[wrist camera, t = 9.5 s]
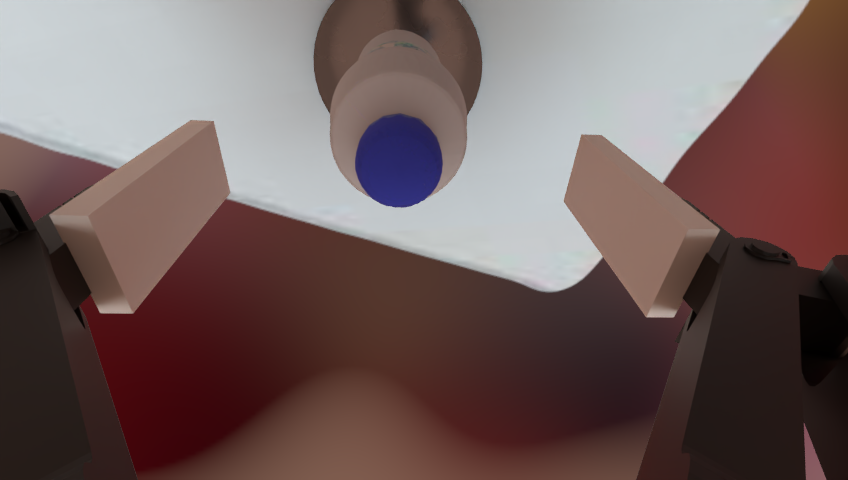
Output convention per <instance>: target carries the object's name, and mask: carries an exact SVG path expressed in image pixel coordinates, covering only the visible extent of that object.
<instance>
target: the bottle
mask: <svg viewBox="0 0 848 480" xmlns="http://www.w3.org/2000/svg"><path fill="white" fill-rule="evenodd" d="M330 123H331V126H330V142H331V148H332V153H333V157H334V159H335V161H336V164H337V166H338V168H339V169H340V171H341V173H342V174H343V175H344V176H345V178H346V179H347V180H348V181H349V182H350V183H351V184H352V185H353V186H354V187H355V188H356V189H357V190H359V191H361V192H362V193H364V194H365V195H367V196H369V197H371V198H372V199H374V200H375V201H377V202H379V203H381V204H383V205H386V206H392V207H409V206H412V205H414V204H418V203H419V202H421V201H423V200H425V199H426V198H428V197H429V196H431V195H433V194H435V193H437V192H438V191H439V190H441V189H442V188H443V187H444V186H446V185H447V184H448V183H449V181H450V180H451V179H452V178H453V177H454V176H455V174H456V172H457V171H458V169H459V167H460V165H461V163H462V161H463V158H464V155H465V150H466V143H467V128H466V127H467V110H466V104H465V100H464V97H463V94H462V91H461V89H460V87H459V85H458V83H457V82H456V80H455V79H454V77H453V76H452V75H451V74H450V72H449V71H448V70H447V69H446V68H445V67H444V66H443V65H442V64H441V63H440V60H439V57H438V55H437V54H436V52H435V50H434V49H433V48H432V46H431V45H430V44H429V43H428V41H426V40H425V39H424V38H422V37H421V36H419V35H417V34H415V33H413V32H409V31H406V30H397V29H395V30H390V31H387V32H384V33H382V34H380V35H378V36H376V37H375V38H373V39H372V40H371V41H370V42H369V43H368V44H367V45H366V46H365V47H364V49H363V50H362V52H361V54H360V56H359V59H358V61H357V62H356V63H355V64H354V65H352V66H351V67H350V68H349V69H348V70H347V71H346V73H345V74H344V75H343V77H342V78H341V80H340V81H339V83H338V85H337V87H336V89H335V92H334V95H333V97H332V103H331V109H330Z"/></svg>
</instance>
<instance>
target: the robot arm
mask: <svg viewBox="0 0 848 480" xmlns="http://www.w3.org/2000/svg"><path fill="white" fill-rule="evenodd" d="M229 194H230V189H229V185H228V181H227V176H226V172H225V168H224V164H223V159H222V155H221V151H220V147H219V142H218V138H217V134H216V130H215V125H214V121H197V120H190V121H189V122H187V123H186V124H184V125H183V126H181V127H180V128H178V129H177V130H175V131H174V132H172V133H171V134H169V135H168V136H166V137H165V138H163V139H162V140H160V141H159V142H157V143H156V144H154V145H153V146H151V147H150V148H148V149H147V150H145V151H144V152H142V153H141V154H140V155H138V156H137V157H135V158H134V159H132V160H131V161H129V162H128V163H126V164H125V165H123V166H122V167H120V168H119V169H117V170H116V171H114V172H113V173H111V174H110V175H108V176H107V177H105V178H104V179H102V180H101V181H99V182H98V183H96V184H94V185H92V186H90V187H87V188H86V189H84V190H83V191H81V192H80V193H78V194H76V195H75V196H74V198H70V199H69V200H67V201H66V202H64V203H63V206H58V207H57V208H55V209H54V210H52V211H51V212H49V213H48V214H46V215H45V216H43V217H42V218H40V219H39V220H37V221H36V222H34V223H33V221H32V220H31V218H30V216H29V214H28V212H27V211H26V209H25V207H24V205H23V203H22V201H21V200H20V198H19V196H18V195H17V194H16V193H15V192H14V191H9V190H0V480H138V479H137V476H136V473H135V470H134V467H133V463H132V461H131V457H130V454H129V451H128V448H127V445H126V441H125V438H124V435H123V432H122V429H121V426H120V423H119V420H118V416H117V413H116V410H115V407H114V404H113V401H112V398H111V395H110V391H109V388H108V385H107V382H106V379H105V376H104V373H103V369H102V366H101V364H100V360H99V357H98V354H97V351H96V348H95V344H94V341H93V338H92V335H91V332H90V329H89V326H88V323H87V319H86V317H85V315H84V313H83V311H82V309H81V308H80V306H79V305H80V304H81V303H82V302H83V301H84V300H85V299H86V298H87V297H88V296H89V295H90V294H91V296H92V298H93V300H94V302H95V304H96V306H97V307H98V309H99V311H100V313H134V311H135V310H136V309H137V308H138V306H139V305H140V304H141V303H142V301H143V300H144V299H145V298H146V297H147V295H148V294H149V293H150V292H151V290H152V289H153V288H154V287H155V285H156V284H157V283H158V281H159V280H160V279H161V278H162V277H163V275H164V274H165V273H166V272H167V271H168V269H169V268H170V267H171V265H172V264H173V263H174V262H175V261H176V259H177V258H178V257H179V256H180V254H181V253H182V252H183V251H184V249H185V248H186V247H187V246H188V245H189V243H190V242H191V241H192V240H193V238H194V237H195V236H196V234H197V233H198V232H199V231H200V230H201V228H202V227H203V226H204V225H205V223H206V222H207V221H208V220H209V218H210V217H211V215H213V214H214V212H215V211H216V210H217V208H218V207H219V206H220V205H221V204H222V202H223V201H224V200H225V199H226V197H227V196H228V195H229ZM564 203H565V204H566V205H567V207H568V208H569V210H570V211H571V212H572V214H573V215H574V217H575V218H576V219H577V221H578V222H579V224H580V225H581V226H582V228H583V229H584V231H585V232H586V233H587V235H588V236H589V238H590V239H591V240H592V242H593V243H594V245H595V246H596V247H597V249H598V250H599V252H600V253H601V254H602V256H603V257H604V259H605V260H606V261H607V263H608V264H609V266H610V267H611V268H612V269H613V271H614V273H615V274H616V275H617V277H618V278H619V279H620V281H621V282H622V284H623V285H624V286H625V288H626V289H627V291H628V292H629V294H630V295H631V296H632V298H633V299H634V301H635V302H636V303H637V305H638V306H639V308H640V309H641V310H642V312H643V313H644V315H645V316H646V317H674V316H675V314H676V312H677V310H678V308H679V307H680V305H681V303H682V301H683V299H684V300H685V301H686V302H687V304H688V305H689V306H690V307H691V308H692V309H693V310H692V311H691V313H690V315H689V317H688V319H687V320H686V322H685V324H684V326H683V328H682V330H681V331H680V333H679V335H678V337H677V338H676V340H675V342H677V343H679V345H678V349H677V352H676V355H675V358H674V362H673V365H672V368H671V371H670V374H669V377H668V381H667V384H666V387H665V390H664V393H663V396H662V399H661V403H660V406H659V409H658V412H657V415H656V418H655V422H654V425H653V428H652V431H651V434H650V437H649V441H648V444H647V447H646V451H645V453H644V457H643V460H642V463H641V466H640V470H639V472H638V476H637V479H636V480H806V474H805V447H804V423H805V426H806V428H807V431H808V433H809V436H810V438H811V441H812V444H813V446H814V449H815V451H816V454H817V456H818V459H819V461H820V464H821V467H822V469H823V472H824V474H825V477H826V479H827V480H848V255H836V256H835V257H833V258H832V259H831V260H830V262H829V263H828V265H827V266H826V267H825V269H824V270H823V271H820V270H815V269H809V268H804V267H799V266H798V265H797V262H796V260H795V258H794V257H793V256H791V254H789V253H788V252H787V251H785V250H783V249H781V248H779V247H777V246H775V245H773V244H771V243H768V242H765V241H761V240H757V239H753V238H743V237H740V238H735V237H733V236H732V235H731V234H730V233H728V232H727V231H726V230H724V229H723V228H722V227H721V226H719V225H718V224H717V223H716V222H714V221H713V220H709V217H708V216H707V215H705V214H704V213H703V212H700V210H699V209H698V208H696V207H695V206H694V205H693V204H691V203H690V202H689V201H687V200H684V199H683V198H680V197H678V196H677V195H676V194H675V193H674V192H672V191H671V190H670V189H669V188H667V187H666V186H665V185H664V184H662V183H661V182H660V181H659V180H657V179H656V178H655V177H654V176H652V175H651V174H650V173H648V172H647V171H646V170H645V169H643V168H642V167H641V166H640V165H638V164H637V163H636V162H635V161H633V160H632V159H631V158H630V157H628V156H627V155H626V154H625V153H623V152H622V151H621V150H620V149H618V148H617V147H616V146H615V145H613V144H612V143H611V142H610V141H608V140H607V139H606V138H605V137H603V136H602V135H581V138H580V142H579V146H578V150H577V153H576V157H575V161H574V164H573V168H572V172H571V176H570V179H569V183H568V187H567V191H566V194H565V198H564Z"/></svg>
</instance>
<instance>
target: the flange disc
mask: <svg viewBox="0 0 848 480" xmlns="http://www.w3.org/2000/svg"><path fill="white" fill-rule="evenodd" d="M395 29H397V30H406V31H409V32H413V33H415V34H417V35H419V36H421V37H422V38H424V39H425V40H426V41H428V43H429V44H430V45H431V46H432V48H433V49H434V50H435V52H436V54H437V55H438V57H439V60H440V63H441V64H442V65H443V66H444V67H445V68H446V69H447V70H448V71H449V72H450V74H451V75H452V76H453V77H454V79H455V80H456V82H457V83H458V85H459V87H460V89H461V91H462V94H463V97H464V100H465V104H466V110H467V115H468V113H469V111H470V110H471V108H472V106H473V104H474V101H475V99H476V96H477V93H478V90H479V86H480V81H481V74H482V55H481V48H480V43H479V39H478V36H477V33H476V29H475V27H474V25H473V23H472V21H471V19H470V17H469V15H468V14H467V12H466V11H465V9H464V7H463V6H462V5H461V4H460V3H459V2H458V0H335V1H334V2H333V4H332V5H331V6H330V8H329V9H328V11H327V13H326V14H325V16H324V18H323V20H322V22H321V25H320V28H319V30H318V33H317V37H316V42H315V49H314V71H315V78H316V83H317V86H318V90H319V93H320V95H321V98H322V100H323V102H324V104H325V106H326V108H327V109H328V111H329V113H330V109H331V103H332V97H333V95H334V92H335V89H336V87H337V85H338V83H339V81H340V80H341V78H342V77H343V75H344V74H345V73H346V71H347V70H348V69H349V68H350V67H351V66H352V65H354V64H355V63H356V62H357V61H358V59H359V56H360V54H361V52H362V50H363V49H364V47H365V46H366V45H367V44H368V43H369V42H370V41H371V40H372V39H373V38H375V37H376V36H378V35H380V34H382V33H384V32H387V31H390V30H395Z"/></svg>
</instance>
